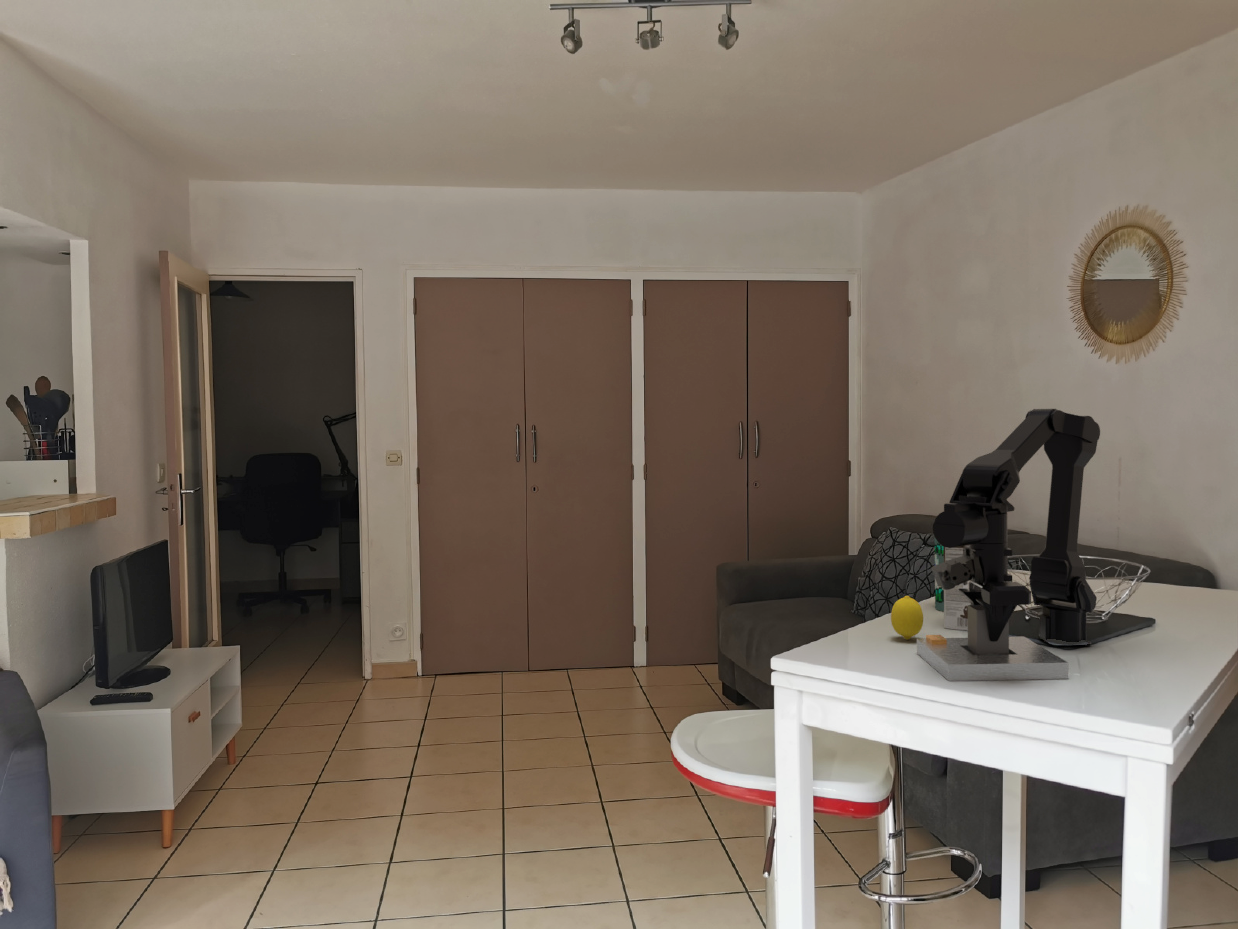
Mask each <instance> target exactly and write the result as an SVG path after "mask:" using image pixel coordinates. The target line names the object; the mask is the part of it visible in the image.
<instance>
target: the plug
mask: <svg viewBox="0 0 1238 929" xmlns="http://www.w3.org/2000/svg"><path fill="white" fill-rule="evenodd" d="M1009 627H1010V619H1009V620H1008V622H1007V624H1006V626H1005V628H1004V630H1003V631H1002V633H1001V635H1000V637H999V639H998V641H995V642H992V641H990V639H989V634H988V628H987V621H986V614H985V609H984V608H983V607H982V606H981V605H968V631H967V638H968V648H969V649H971V650H972V651H973V652H975V653H976V654H1005V653H1009V637H1010V636H1009V634H1010V628H1009Z"/></svg>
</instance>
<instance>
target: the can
mask: <svg viewBox="0 0 1238 929" xmlns="http://www.w3.org/2000/svg"><path fill="white" fill-rule="evenodd" d="M943 562H944V551H943V546H942V545H941V544H940V543H939V542H938V541H937V540H936V538H935V537H934V566H935V565H938V564H940V563H943ZM934 608H935V610H936V611H939V612H943V613H944V589H943V588H942V587H941V586H938V585H937V582H936V579H935V578H934Z"/></svg>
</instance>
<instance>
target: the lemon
mask: <svg viewBox="0 0 1238 929" xmlns="http://www.w3.org/2000/svg"><path fill="white" fill-rule="evenodd" d="M890 621H891V626H892V628H893V629H894V631H895V633H897V634H898V635H899V636H902V637H903V639H904V640H907V641H908V640H911V639H912V637H916V635H918V634H919V633H920V632H921V630H922V628H923V626H924V613H923V609H922V607H921V604H920V603H919V602H918V601H917V600H915V599H914V598H912V597H910V596H909V595H905V596H904V597H902V598H899V599H898V600H896V601H895V602H894V604H893V606H892V609H891V614H890Z"/></svg>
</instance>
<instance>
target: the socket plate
mask: <svg viewBox="0 0 1238 929" xmlns="http://www.w3.org/2000/svg"><path fill="white" fill-rule="evenodd" d="M917 654H918V656H919V657H921V658H922V659H923V660H924V661H925V662H926V663H927V664H928V665H929V666H931V667H932V668H933V669H934V670H935V671H936V672H938V673H939V674H940V675H941V676H942V677H943V678H945V679H946V681H948V682H961V681H962V682H964V681H965V682H966V681H967V682H968V681H1019V680H1021V681H1022V680H1023V681H1024V680H1068V679H1069V662H1068V661H1067V660H1065V659H1063V658H1061V657H1060V656H1058V655H1056V654H1054V653H1053V652H1051V651H1050V650H1048V649H1046V648H1044V647H1043V646H1041V645H1039V644H1037V643H1036V642H1034V641H1032V640H1031V639H1030V638H1028V637H1026V636H1009V653H1005V654H976V653H975V652H973V651H972V650H971V649H969V648H968V637H945V636H942V635H941V634H926V635H925V637H924V638H923V637H922V638H921V637H920V638H916V655H917Z"/></svg>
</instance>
